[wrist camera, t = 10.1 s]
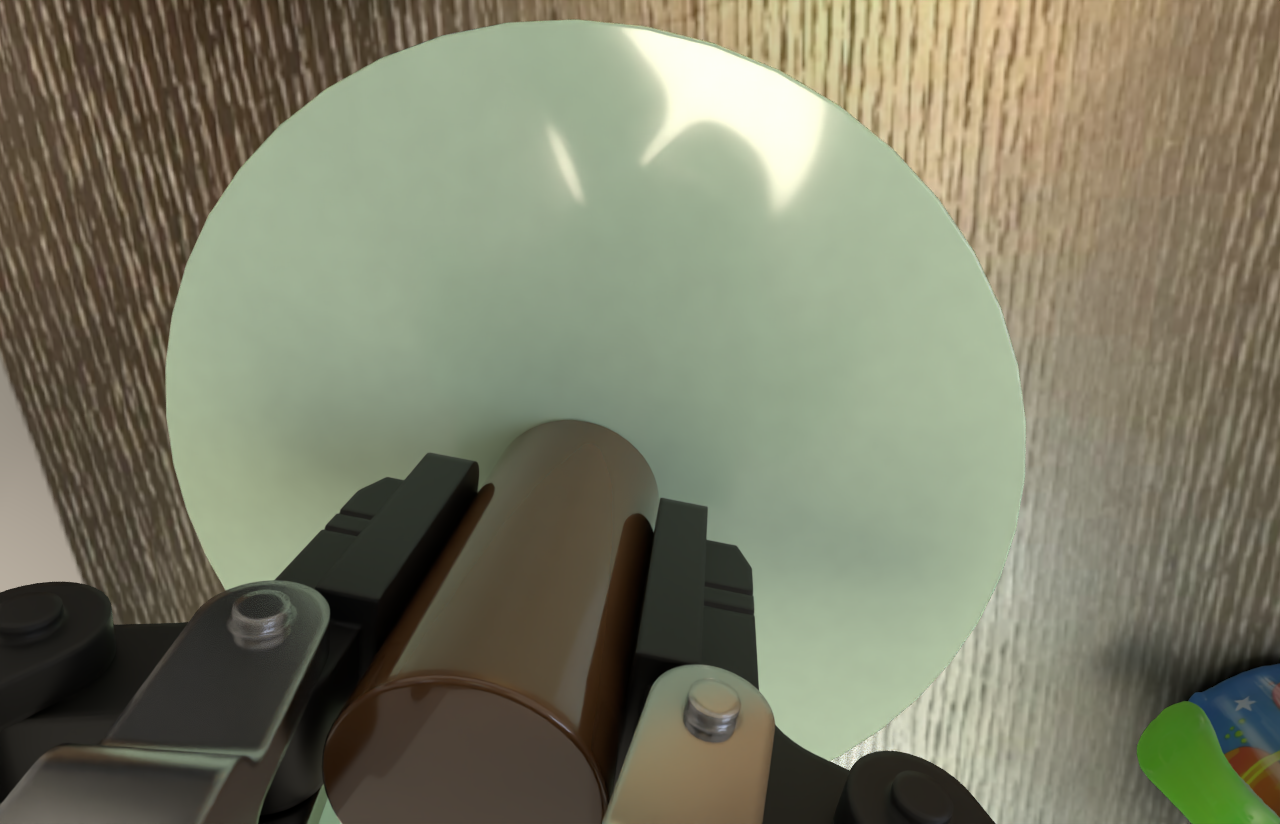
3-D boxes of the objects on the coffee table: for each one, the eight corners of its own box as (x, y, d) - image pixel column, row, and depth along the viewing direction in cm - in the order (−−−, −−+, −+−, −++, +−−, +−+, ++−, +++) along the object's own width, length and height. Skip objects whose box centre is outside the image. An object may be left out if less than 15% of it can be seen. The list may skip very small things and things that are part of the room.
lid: (226, 689, 17) (-97, 1070, 10) (182, -50, 11) (-571, -257, 5) (868, 821, 16) (965, 1309, 10) (1143, 118, 11) (1788, 149, 4)
